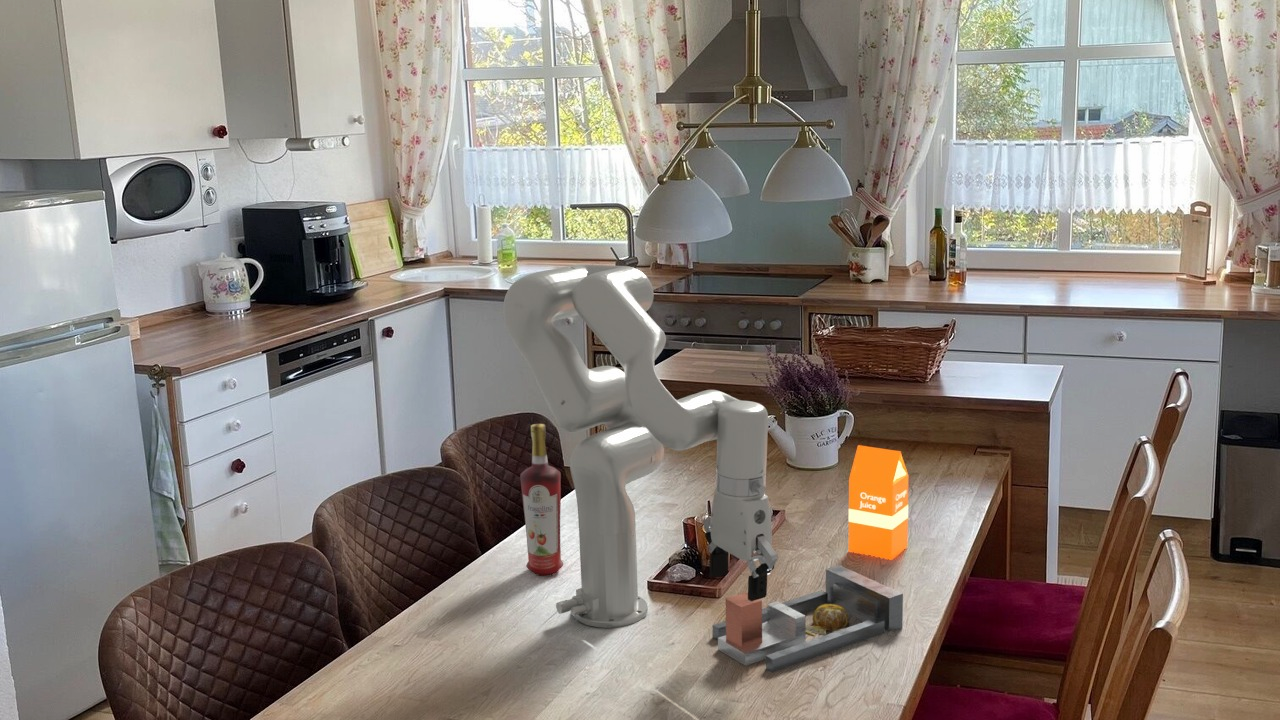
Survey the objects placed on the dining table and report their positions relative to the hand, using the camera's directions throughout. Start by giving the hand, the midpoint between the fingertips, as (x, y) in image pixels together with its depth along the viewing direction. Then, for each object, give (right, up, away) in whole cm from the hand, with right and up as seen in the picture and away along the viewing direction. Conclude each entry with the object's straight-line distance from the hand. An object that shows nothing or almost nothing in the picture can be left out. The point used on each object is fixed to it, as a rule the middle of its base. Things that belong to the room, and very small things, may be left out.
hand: (737, 586), depth 191 cm
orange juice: (+30, -1, +43) cm, 53 cm away
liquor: (-33, -4, +38) cm, 50 cm away
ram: (+4, -10, +4) cm, 12 cm away
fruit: (+15, -9, +10) cm, 20 cm away
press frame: (+12, -9, +9) cm, 17 cm away
